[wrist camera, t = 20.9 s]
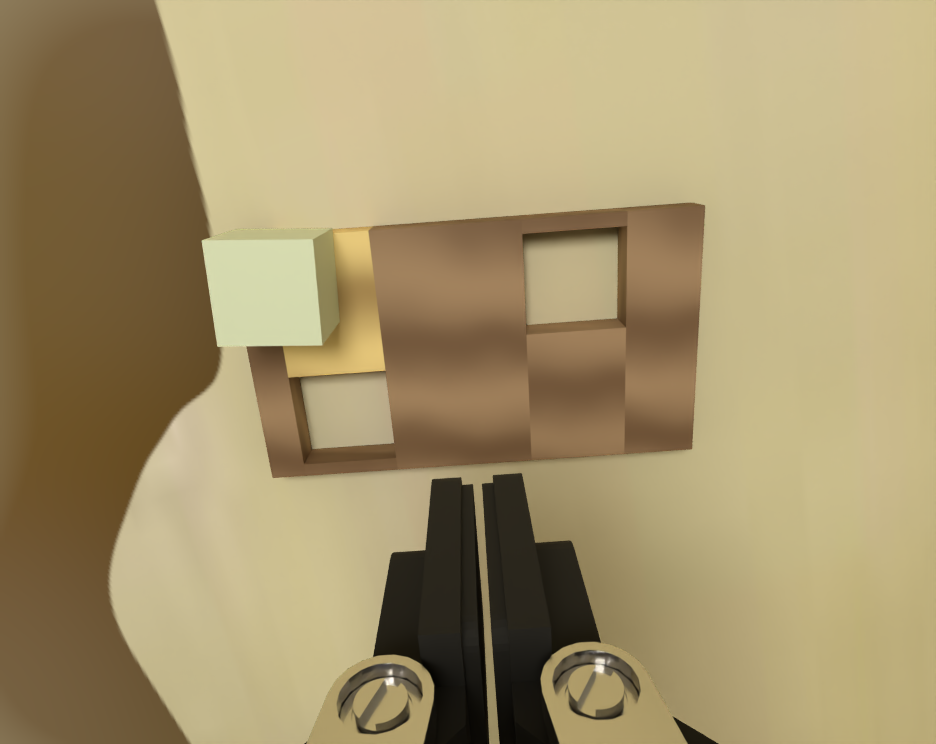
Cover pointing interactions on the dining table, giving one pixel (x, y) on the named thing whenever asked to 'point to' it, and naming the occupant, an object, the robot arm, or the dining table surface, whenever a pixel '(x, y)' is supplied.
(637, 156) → the dining table surface
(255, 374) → the board with square holes
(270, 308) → the block
